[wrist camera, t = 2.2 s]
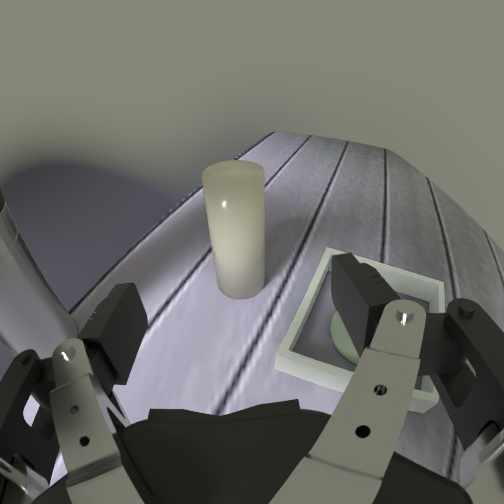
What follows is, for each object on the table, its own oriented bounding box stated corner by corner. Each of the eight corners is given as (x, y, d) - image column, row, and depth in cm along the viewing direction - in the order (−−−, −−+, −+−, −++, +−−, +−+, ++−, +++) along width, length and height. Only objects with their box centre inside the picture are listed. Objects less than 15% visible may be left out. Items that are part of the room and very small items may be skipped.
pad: (318, 352, 26) (319, 351, 25) (341, 290, 32) (342, 288, 31) (400, 377, 22) (402, 376, 22) (410, 311, 29) (412, 309, 28)
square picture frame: (274, 368, 25) (275, 354, 23) (323, 265, 35) (326, 246, 33) (423, 413, 19) (438, 402, 17) (434, 298, 30) (443, 282, 28)
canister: (209, 289, 33) (189, 180, 24) (232, 260, 36) (222, 157, 27) (251, 305, 31) (246, 191, 22) (272, 273, 34) (274, 165, 25)
